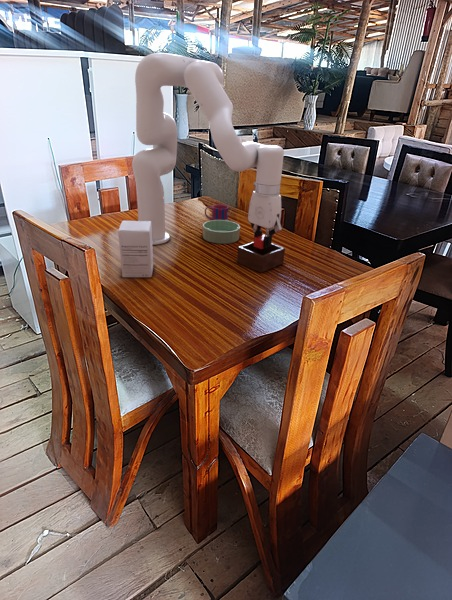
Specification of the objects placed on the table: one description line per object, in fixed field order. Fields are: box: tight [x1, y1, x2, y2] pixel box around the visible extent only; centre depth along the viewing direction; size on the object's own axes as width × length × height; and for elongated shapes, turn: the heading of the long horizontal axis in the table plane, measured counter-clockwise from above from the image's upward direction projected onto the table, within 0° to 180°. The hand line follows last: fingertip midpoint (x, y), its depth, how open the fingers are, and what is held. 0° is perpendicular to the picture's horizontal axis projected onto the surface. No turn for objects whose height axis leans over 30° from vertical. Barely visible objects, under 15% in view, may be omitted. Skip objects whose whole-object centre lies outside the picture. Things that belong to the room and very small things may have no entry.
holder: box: [236, 241, 286, 274], centre depth 133 cm, size 12×11×6 cm
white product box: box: [117, 220, 154, 278], centre depth 120 cm, size 9×9×15 cm
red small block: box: [253, 234, 266, 249], centre depth 130 cm, size 5×3×3 cm
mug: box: [204, 204, 230, 221], centre depth 168 cm, size 7×10×7 cm
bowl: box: [201, 219, 241, 245], centre depth 153 cm, size 14×14×4 cm
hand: (262, 244), depth 131 cm, fingers closed on red small block, 3 cm apart
